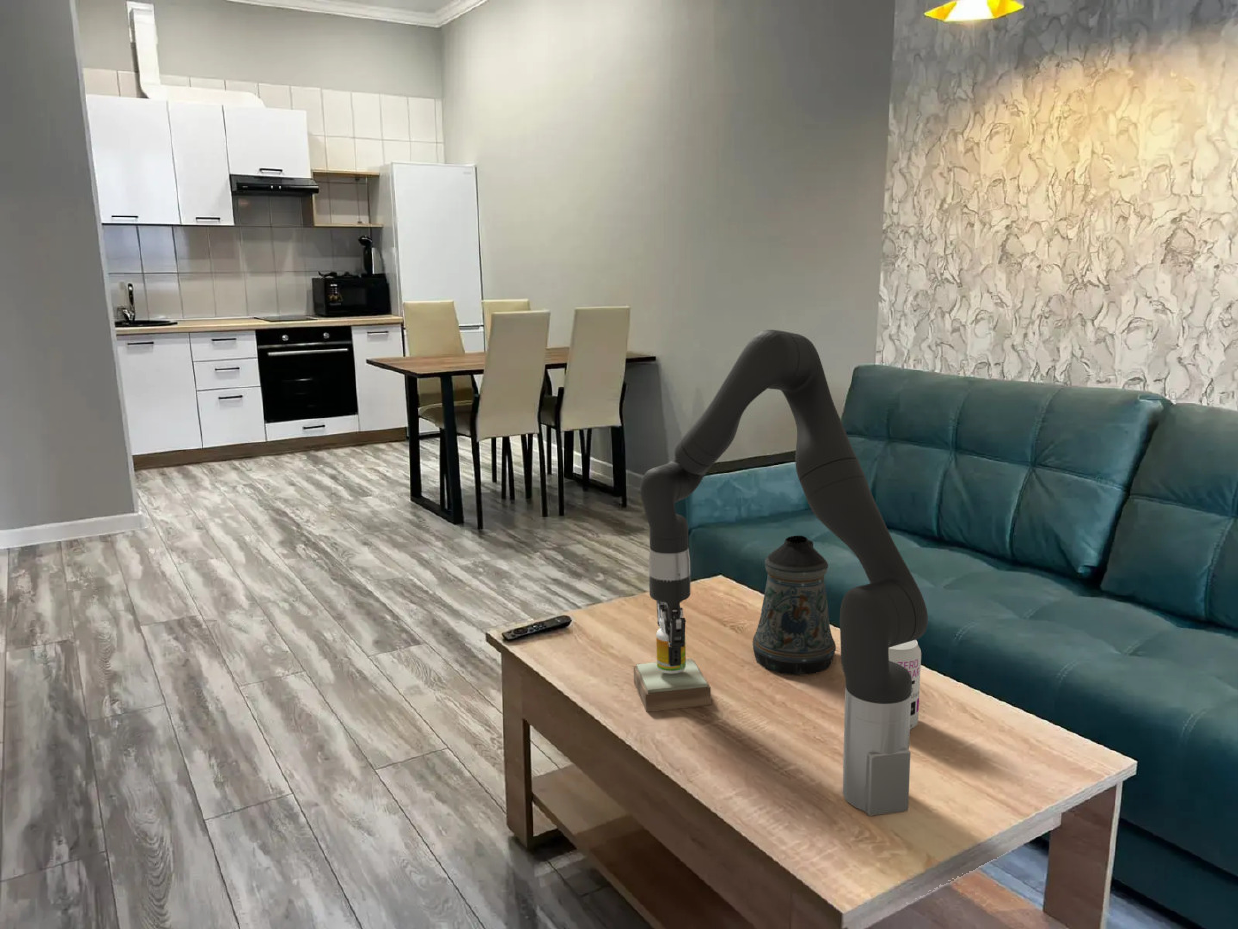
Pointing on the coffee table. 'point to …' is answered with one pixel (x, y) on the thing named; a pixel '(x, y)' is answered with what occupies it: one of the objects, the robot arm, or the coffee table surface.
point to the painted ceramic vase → (795, 612)
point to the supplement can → (910, 660)
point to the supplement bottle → (663, 653)
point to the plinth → (671, 687)
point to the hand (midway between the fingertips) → (671, 658)
